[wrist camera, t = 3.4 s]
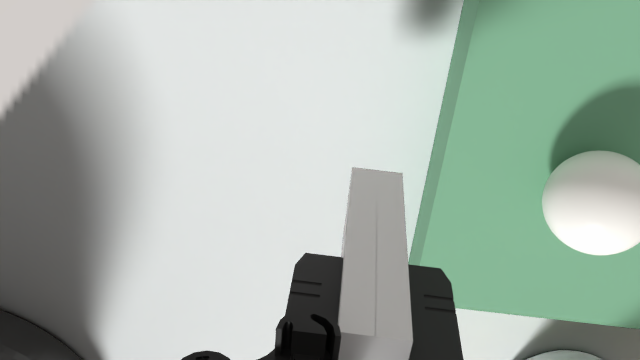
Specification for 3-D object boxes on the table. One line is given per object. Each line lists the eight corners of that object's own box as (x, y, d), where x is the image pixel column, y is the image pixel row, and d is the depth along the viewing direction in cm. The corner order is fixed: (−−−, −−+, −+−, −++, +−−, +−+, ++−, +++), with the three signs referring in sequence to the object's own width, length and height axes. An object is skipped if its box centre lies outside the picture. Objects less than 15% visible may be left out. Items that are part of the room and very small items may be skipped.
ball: (520, 210, 21) (544, 271, 19) (547, 127, 20) (578, 179, 17) (613, 220, 21) (652, 283, 18) (648, 138, 20) (698, 193, 17)
